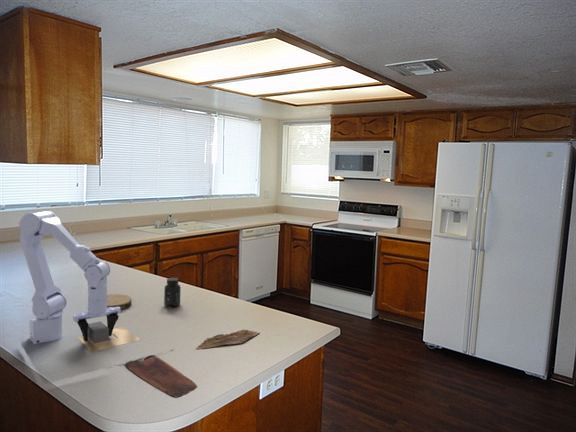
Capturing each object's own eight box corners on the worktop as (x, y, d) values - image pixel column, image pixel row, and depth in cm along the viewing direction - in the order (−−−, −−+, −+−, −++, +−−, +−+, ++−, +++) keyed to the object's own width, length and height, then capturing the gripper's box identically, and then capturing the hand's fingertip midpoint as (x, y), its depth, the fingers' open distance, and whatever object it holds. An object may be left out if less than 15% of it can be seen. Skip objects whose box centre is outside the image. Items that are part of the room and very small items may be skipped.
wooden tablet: (202, 383, 117) (171, 392, 110) (201, 391, 117) (170, 401, 110) (153, 353, 135) (123, 359, 127) (152, 360, 135) (122, 366, 127)
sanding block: (94, 346, 136) (94, 331, 136) (86, 338, 142) (86, 324, 141) (108, 343, 139) (108, 328, 139) (100, 335, 145) (100, 321, 144)
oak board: (90, 356, 132) (90, 351, 132) (76, 340, 143) (76, 336, 143) (140, 344, 143) (140, 339, 143) (123, 330, 154) (123, 326, 154)
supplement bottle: (160, 306, 182) (161, 279, 181) (171, 302, 188) (172, 276, 187) (172, 309, 179) (173, 282, 177) (183, 305, 185) (184, 278, 184)
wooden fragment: (251, 329, 162) (251, 326, 162) (266, 339, 153) (266, 336, 153) (188, 343, 146) (188, 340, 146) (201, 355, 138) (201, 352, 138)
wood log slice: (106, 299, 189) (106, 292, 189) (138, 303, 186) (138, 296, 186) (82, 310, 174) (82, 303, 173) (117, 314, 170) (117, 307, 170)
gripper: (77, 305, 131) (78, 347, 133) (124, 297, 141) (124, 336, 142) (71, 299, 136) (71, 339, 138) (116, 292, 146) (116, 330, 148)
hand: (97, 337), depth 140 cm, fingers open, 7 cm apart
